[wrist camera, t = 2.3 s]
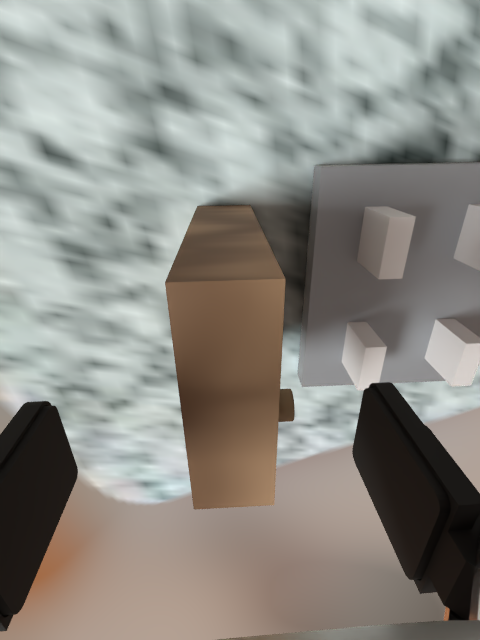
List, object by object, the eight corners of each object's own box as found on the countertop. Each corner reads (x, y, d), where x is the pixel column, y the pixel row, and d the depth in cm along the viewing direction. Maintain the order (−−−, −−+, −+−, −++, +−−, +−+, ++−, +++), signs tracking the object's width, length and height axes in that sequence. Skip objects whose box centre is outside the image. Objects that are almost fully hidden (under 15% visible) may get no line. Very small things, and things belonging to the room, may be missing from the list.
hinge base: (527, 161, 19) (611, 164, 15) (456, 367, 25) (500, 409, 21) (314, 165, 18) (340, 170, 14) (297, 373, 25) (312, 417, 21)
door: (270, 204, 19) (332, 277, 8) (267, 339, 23) (305, 503, 13) (197, 206, 19) (164, 282, 8) (207, 342, 23) (194, 509, 12)
